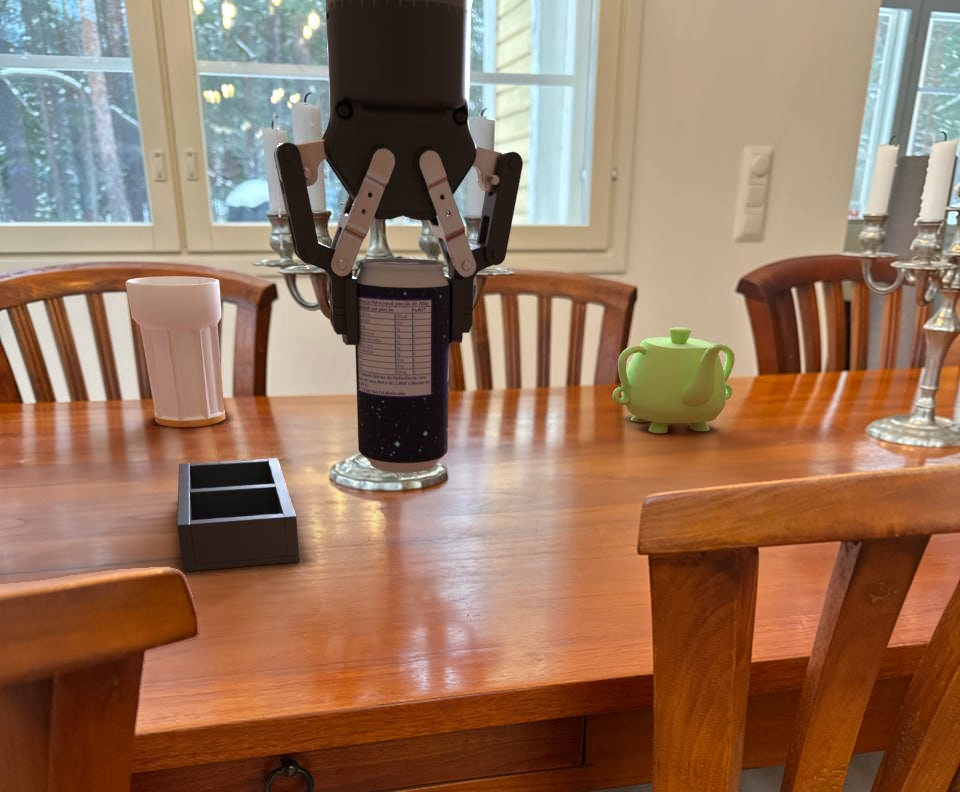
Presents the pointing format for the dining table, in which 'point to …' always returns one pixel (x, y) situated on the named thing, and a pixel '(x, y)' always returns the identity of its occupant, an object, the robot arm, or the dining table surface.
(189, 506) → the holder
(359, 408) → the beverage can
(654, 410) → the teapot
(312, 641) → the dining table surface
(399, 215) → the robot arm
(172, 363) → the cup
